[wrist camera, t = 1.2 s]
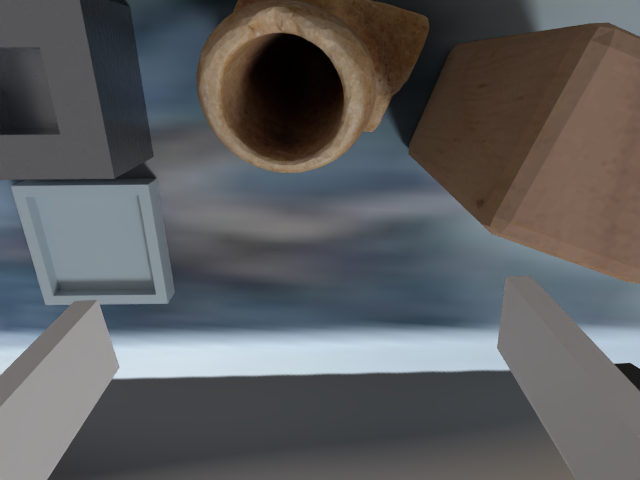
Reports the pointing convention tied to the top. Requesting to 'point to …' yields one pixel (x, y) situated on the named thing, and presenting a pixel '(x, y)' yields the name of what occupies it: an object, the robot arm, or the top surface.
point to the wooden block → (544, 141)
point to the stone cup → (304, 76)
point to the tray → (96, 240)
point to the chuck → (70, 91)
